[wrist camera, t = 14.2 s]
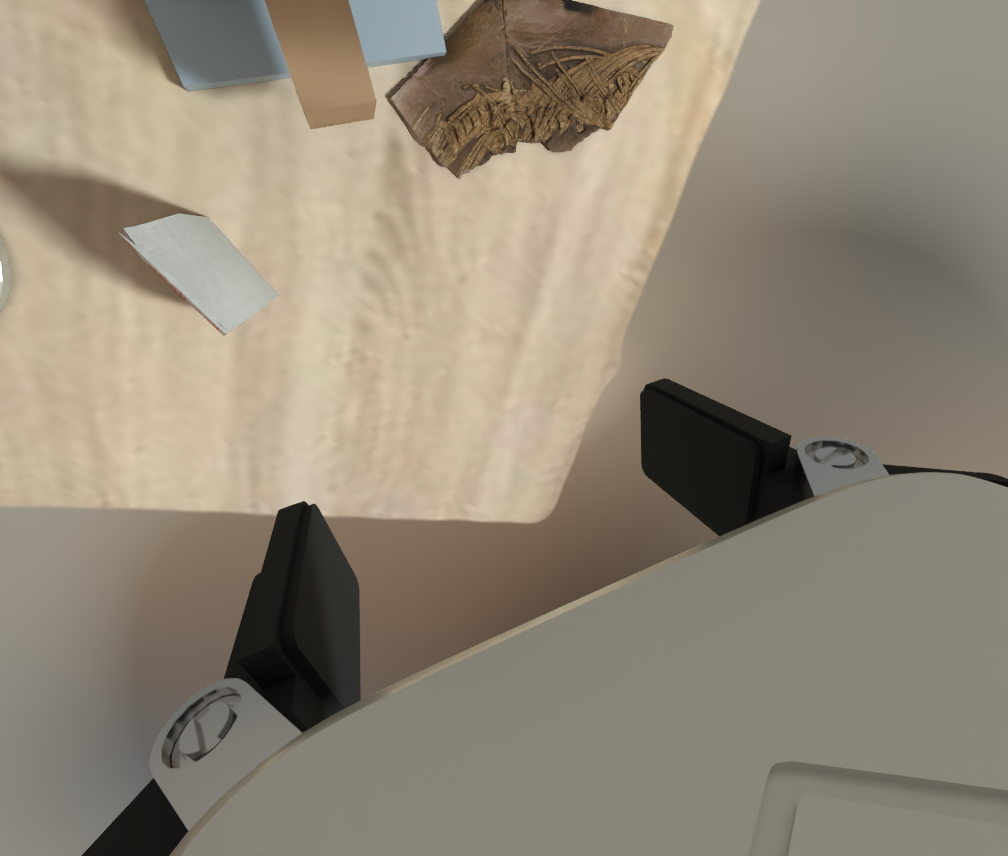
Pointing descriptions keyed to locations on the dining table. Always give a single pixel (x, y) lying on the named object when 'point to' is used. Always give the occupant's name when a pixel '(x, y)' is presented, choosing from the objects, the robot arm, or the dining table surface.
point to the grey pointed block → (202, 268)
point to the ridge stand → (256, 49)
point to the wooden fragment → (527, 79)
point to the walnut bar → (324, 60)
